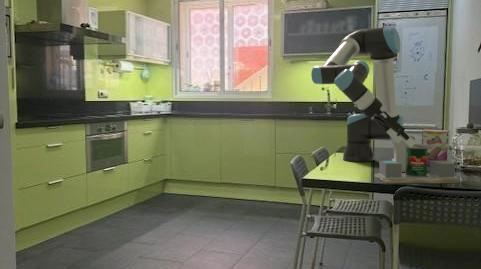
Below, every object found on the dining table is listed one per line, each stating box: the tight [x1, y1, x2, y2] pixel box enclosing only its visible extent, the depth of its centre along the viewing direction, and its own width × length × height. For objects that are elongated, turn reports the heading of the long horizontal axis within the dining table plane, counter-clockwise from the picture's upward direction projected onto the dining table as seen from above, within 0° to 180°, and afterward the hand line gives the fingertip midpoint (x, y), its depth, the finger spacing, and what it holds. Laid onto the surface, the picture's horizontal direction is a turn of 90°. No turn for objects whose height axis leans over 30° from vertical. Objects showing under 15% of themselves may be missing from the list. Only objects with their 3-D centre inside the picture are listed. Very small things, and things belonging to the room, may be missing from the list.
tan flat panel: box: [375, 172, 459, 180], centre depth 181 cm, size 10×28×1 cm, turn 90°
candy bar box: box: [421, 129, 451, 167], centre depth 216 cm, size 11×5×16 cm, turn 57°
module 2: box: [429, 161, 456, 177], centre depth 181 cm, size 8×6×5 cm
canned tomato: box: [405, 146, 428, 177], centre depth 181 cm, size 8×8×11 cm
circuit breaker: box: [391, 135, 429, 172], centre depth 201 cm, size 8×14×15 cm, turn 78°
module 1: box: [378, 160, 402, 177], centre depth 181 cm, size 8×6×5 cm
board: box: [374, 173, 462, 184], centre depth 181 cm, size 14×28×1 cm, turn 90°
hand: (406, 143), depth 179 cm, fingers open, 13 cm apart
